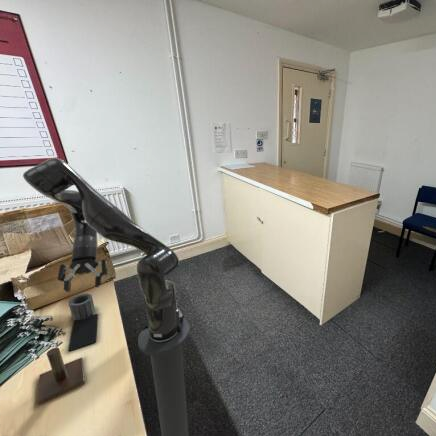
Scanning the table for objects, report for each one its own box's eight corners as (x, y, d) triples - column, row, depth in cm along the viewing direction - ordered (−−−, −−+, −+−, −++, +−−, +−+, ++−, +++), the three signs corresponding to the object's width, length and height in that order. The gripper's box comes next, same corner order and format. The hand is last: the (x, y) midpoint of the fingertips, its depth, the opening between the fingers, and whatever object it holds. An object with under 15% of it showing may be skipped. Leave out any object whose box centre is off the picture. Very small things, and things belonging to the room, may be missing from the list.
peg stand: (82, 359, 72) (74, 332, 68) (84, 383, 66) (76, 354, 62) (40, 377, 66) (29, 348, 62) (38, 404, 60) (26, 374, 56)
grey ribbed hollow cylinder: (94, 306, 92) (91, 291, 90) (96, 316, 88) (92, 301, 86) (72, 313, 88) (68, 298, 86) (73, 323, 84) (68, 308, 81)
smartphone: (67, 351, 74) (73, 320, 85) (68, 353, 74) (74, 321, 85) (95, 341, 78) (97, 313, 89) (96, 343, 78) (98, 314, 89)
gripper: (57, 248, 88) (53, 291, 82) (104, 243, 94) (103, 283, 89) (65, 253, 94) (62, 294, 88) (109, 249, 100) (108, 287, 95)
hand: (82, 289), depth 88 cm, fingers open, 8 cm apart
